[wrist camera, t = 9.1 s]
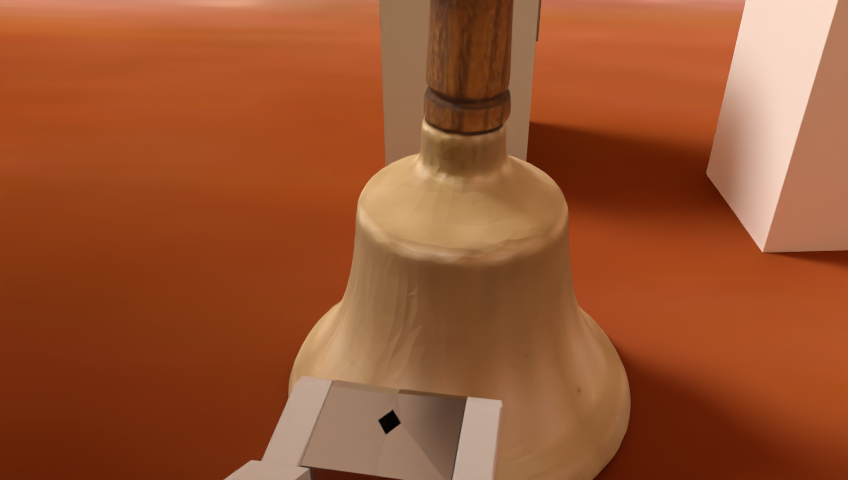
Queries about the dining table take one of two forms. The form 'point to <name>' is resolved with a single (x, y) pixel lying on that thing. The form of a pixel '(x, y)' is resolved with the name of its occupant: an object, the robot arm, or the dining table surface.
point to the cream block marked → (787, 126)
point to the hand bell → (475, 272)
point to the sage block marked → (407, 74)
